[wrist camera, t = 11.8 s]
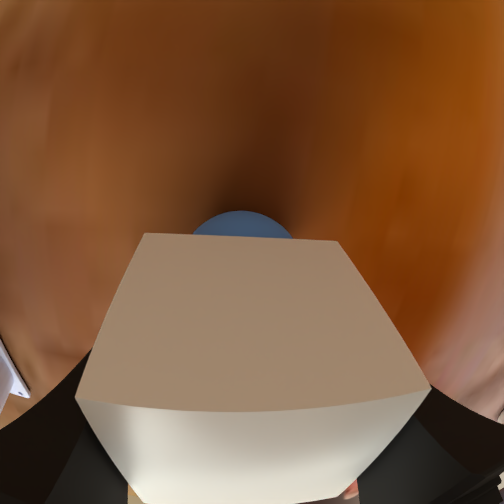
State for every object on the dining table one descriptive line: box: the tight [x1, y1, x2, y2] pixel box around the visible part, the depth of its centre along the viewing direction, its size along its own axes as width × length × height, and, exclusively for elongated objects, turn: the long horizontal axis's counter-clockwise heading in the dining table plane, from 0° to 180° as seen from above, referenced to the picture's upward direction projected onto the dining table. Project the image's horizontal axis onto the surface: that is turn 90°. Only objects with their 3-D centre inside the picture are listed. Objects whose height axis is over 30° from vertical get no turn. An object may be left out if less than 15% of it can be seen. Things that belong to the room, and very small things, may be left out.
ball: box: [192, 211, 293, 239], centre depth 13 cm, size 5×5×5 cm
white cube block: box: [75, 233, 432, 504], centre depth 9 cm, size 6×6×6 cm
